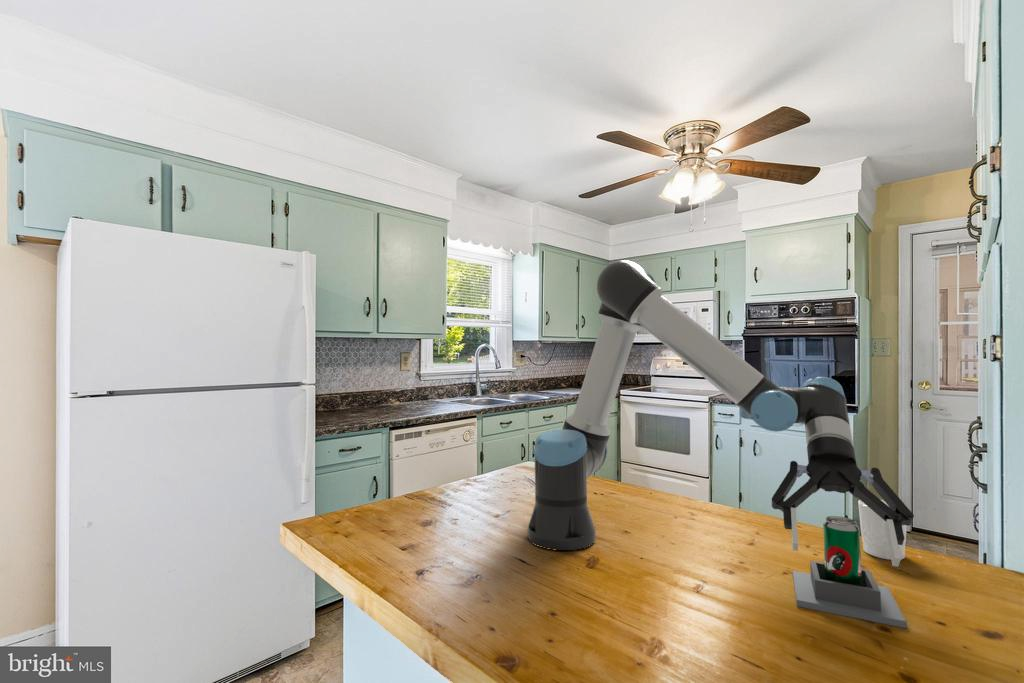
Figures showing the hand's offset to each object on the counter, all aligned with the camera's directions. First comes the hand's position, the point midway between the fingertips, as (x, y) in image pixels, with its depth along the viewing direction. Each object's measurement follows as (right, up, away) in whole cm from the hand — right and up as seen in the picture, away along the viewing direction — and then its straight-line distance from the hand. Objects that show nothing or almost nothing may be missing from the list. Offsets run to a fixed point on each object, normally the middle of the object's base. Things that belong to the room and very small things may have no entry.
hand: (843, 554), depth 77 cm
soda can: (+1, -7, +2) cm, 8 cm away
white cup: (+22, -9, +20) cm, 31 cm away
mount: (+1, -8, +2) cm, 8 cm away
